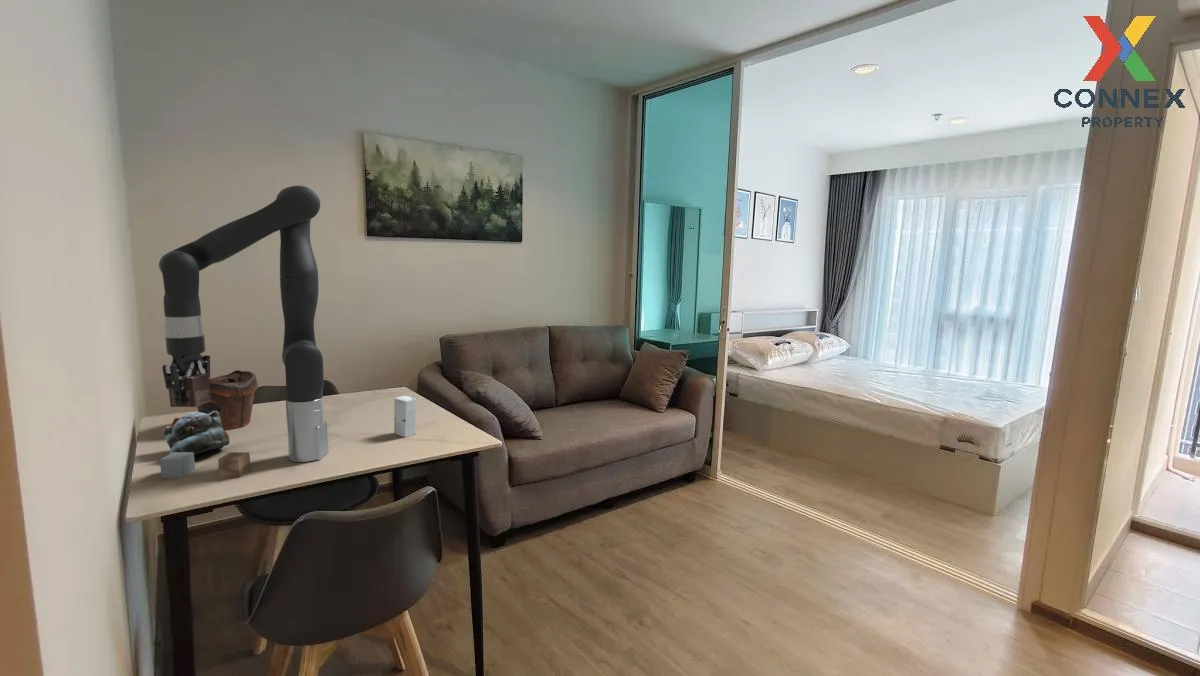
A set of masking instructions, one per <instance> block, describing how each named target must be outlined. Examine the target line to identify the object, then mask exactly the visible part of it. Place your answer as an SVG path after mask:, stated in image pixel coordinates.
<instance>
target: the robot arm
mask: <svg viewBox="0 0 1200 676" xmlns="http://www.w3.org/2000/svg"><path fill="white" fill-rule="evenodd" d="M320 208H321V200H320V197H319V196H318V194H317V193H316V192H315V191H314V190H313V189H311V188H310V187H307V186H305V185H304V186H303V185H292V186H287V187H284V188H283V189H281V190H280V192H279V193H277V195H276V198H275V200H274V201H272V202H271V203H269V204H268V205H266V206H264V207H262V208H260V209H258V210H256V211H255V212H252V213H250V214H247V215H246V216H242V217H239V218H237V219H236V220H233V221H231V222H228V223H226V224H223V225H222V226H219V227H217V228H216V229H213V230H211V231H209V232H207V233H206V234H204V235H202V236H200V237H199V238H197V239H196V240H194V241H191V242H189V243H187V244H184V245H182V246H179V247H178V248H175V249H173V250H171V251H169V252H167V253H165V254H163V255H162V256H161V258H160V260H159V262H158V263H159V264H158V267H159V270H160V272H161V274H162V279H163V280H162V281H163V287H164V288H163V290H164V295H163V311H164V325H163V327H164V337H165V347H166V354H167V355H169V356H171V357H172V359H171V360H172V361H171V363H170V364H163V365H162V373H163V378H164V384H165V388H166V389H167V390H169V389H172V390H174V395H175V402H176V405H185V404H187V396H186V389H185V388H186V380H187V379H188V378H190V376H191V375H192V374H203V373H208V374H209V379H210V378H211V356H210V355H206V354H204V353H205V351H206V342H205V341H206V340H205V331H204V330H205V329H204V322H203V319H202V312H201V309H202V308H201V299H200V294H199V292H200V291H199V290H200V272H201V271H203V270H204V269H206V268H208V267H209V266H212V265H214V264H218V263H220V262H223V261H224V260H225V261H226V260H227V259H229V258H230V257H233V256H235V255H236V254H238V253H240V252H242V251H243V250H245V249H247V248H249V247H251V246H252V245H253V244H255V243H258V242H259V241H261V240H262V239H265V238H266V237H268V236H271V235H272V234H274V233H275V232H278V231H279V235H280V236H279V237H280V243H279V245H280V247H279V286H280V287H279V290H280V299H281V300H280V301H281V308H282V314H283V315H282V316H283V320H284V330H283V331H284V332H283V343H282V345H283V346H282V354H281V358H282V363H283V365H284V368H285V369H284V370H285V371H284V372H285V391H284V392H285V393H284V395H285V397H284V398H285V409H286V410H285V411H286V427H287V428H286V430H287V431H286V432H287V444H288V445H287V446H288V451H287V452H288V458H289V460H290V461H291V462H294V463H306V462H312V461H320V460H322V459H323V458H324V457H326V455H327V454H328V453H329V437H328V434H329V432H328V422H327V420H325V416H324V414H325V413H324V412H325V411H324V397H323V396H324V394H323V393H324V387H325V382H324V381H325V380H324V379H325V378H324V376H325V375H324V357H323V354H322V352H321V350H320V349H319V348H318V347H317V342H316V335H315V334H316V333H315V317H316V312H317V308H318V302H319V301H318V300H319V270H318V265H317V261H316V258H315V254H314V251H313V248H312V244H311V220H312V219H313V218H315V217H316V216H317V215H318V213H319V211H320ZM178 375H180V376H183V377H179V376H178ZM171 380H173V383H172V384H171ZM179 380H182V382H181V385H180V381H179Z"/></svg>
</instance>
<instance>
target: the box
mask: <svg viewBox="0 0 1200 676" xmlns="http://www.w3.org/2000/svg"><path fill="white" fill-rule="evenodd" d="M178 376H179V377H183V376H180V375H179V374H178ZM209 379H210V378H209V374H208V373H203V374H192V375H191V376H190V378H188V379H187V380H186V388H185V389H186V396H187V404H185V405H176V402H175V395H174V390H172V389H168V393H169V394H168V395H169V403H170V408H197V406H200V405H202V404H204V403H207V402H209V401H211V395H210V385H209ZM179 381H180V385H181V382H182V380H179ZM172 383H173V380H171V384H172Z"/></svg>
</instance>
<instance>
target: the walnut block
mask: <svg viewBox="0 0 1200 676" xmlns="http://www.w3.org/2000/svg"><path fill="white" fill-rule="evenodd" d="M250 453H251V452H247V451H246V452H245V451H243V452H239V451H238V452H237V451H236V452H234V451H231V452H228V453H226V454H225V455H223V456H221V457H220V458H218V459H217V464H218V475H219V476H218V477H219V478H223V479H224V478H229V479H231V478H232V479H233V478H235V479H236V478H242V477H243V476H244V475H246V474H248V472H249V471H251V470H252V469H251V457H250Z"/></svg>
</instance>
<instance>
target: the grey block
mask: <svg viewBox="0 0 1200 676" xmlns="http://www.w3.org/2000/svg"><path fill="white" fill-rule="evenodd" d="M159 463H160V464H159V467H160V475H161V477H160V478H161V479H162V478H163V479H164V478H165V479H167V478H169V479H173V478H175V479H177V478H178V479H181V478H182V479H183V478H185V477H187V476H188V475H189V474H191V473H192V472H194V471H196V464H195V455H194V452H173V453H171V454H167V455H166V456H163V457H162V458H160V459H159Z"/></svg>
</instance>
